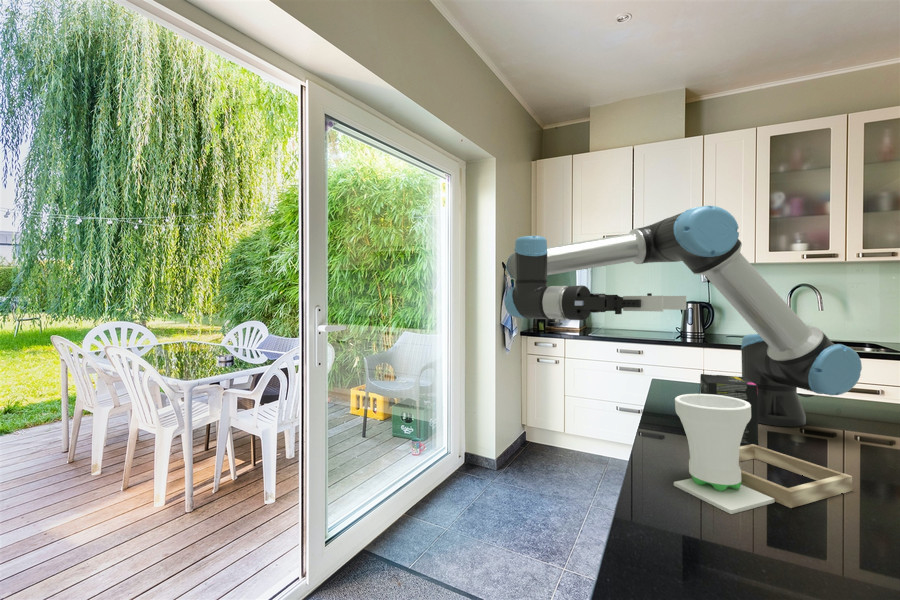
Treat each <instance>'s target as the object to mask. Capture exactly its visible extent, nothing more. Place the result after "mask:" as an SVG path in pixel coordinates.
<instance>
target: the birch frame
mask: <svg viewBox="0 0 900 600" xmlns="http://www.w3.org/2000/svg"><path fill="white" fill-rule="evenodd" d="M748 460H758V461H760V462H764V463H767V464H769V465H771V466H774V467H778V468H780V469H783V470H787V471H789V472H792V473H794V474H797V475H800V476H802V475H803V477H805V478H809V479H812V480H814V481H811V482H807V483H803V484H798V485H796V486H791V487H786V486H783V485H780V484H778V483H775V482H773V481H770V480H768V479H765V478H762V477H760V476H757V475H755V474H753V473H750V472H747V471H745V470H742V469H741V479H742V480H741V485H743V486H746V487H748V488H750V489H753V490H755V491H757V492H760V493H762V494H764V495H767V496H769V497H771V498H774V499H775V502H776V503H778V504H780V505H782V506H785V507H787V508H789V509H792V508H795V507H800V506H803V505H808V504H810V503H814V502H817V501H820V500H824V499H828V498H831V497H836V496H839V495H842V494H841V493H843V494H845V493H846V494H847V493H849V492H853V476H852V475H849V474H847V473H843V472H841V471H837V470H834V469H831V468H828V467H825V466H822V465H818V464H816V463H813V462H810V461H807V460H803V459H801V458H797V457H795V456H791V455H788V454H784V453H781V452H778V451H775V450H773V449H769V448H766V447H763V446H760V445H759V446H757V445H754V444H750V445H745V446H740V450H739V463H740V462H744V461H748Z"/></svg>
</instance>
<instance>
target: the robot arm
mask: <svg viewBox="0 0 900 600" xmlns="http://www.w3.org/2000/svg"><path fill="white" fill-rule="evenodd" d="M738 229H739V224H738V222H737V220H736V218H735V216H734V215H732V213H731V212H729V211H728V210H726V209H724V208H722V207H720V206H716V205H702V206H696V207H692V208H689V209H686V210H684V211H683V212H681V213H678V214H675V215H672V216H669V217H667V218H664V219H663V220H660V221H657V222H655V223H652V224H649V225H647V226H643V227H637V228H631V230H630V231H629V233H624V234H619V235H613V236H607V237H601V238H594V239H588V240H582V241H578V242H577V241H576V242H572V243H571V242H570V243H565V244H559V245H552V246H548V243H547V242H548V241H547V239H546V237H544V236H540V235H525V236H524V235H523V236H518V237H517V238H516V239H515V243H514V253H512V254H511V255H510V256H509V258H508V259H507V261H506V263H505V270H506V273H507V275H508V276H509V277H510V278H511V279H514V280H515V281H514V287H510V289H508V290H507V292H506V296H505V298H504V306H505V310H506V312H507V313H508V314H509V316H511V317H513V318H516V319H517V318H519V319H525V320H532V319H533V320H554V321H555V322H556V323H559V322H560V320H569V321H586V320H587V319H588V318H589V317H590V315H591V313H593V314H594V313H598V314H599V313H606V312H614V315H622V313H623V312H660V313H661V312H664V310H670V311H671V310H672V311H673V310H674V311H675V310H676V311H677V310H678V311H679V310H681V311H683V310H684V311H685V310H686V311H687V295H652V292H651V293H650V292H649V293H647V294H646V295H622V296H620V295H618V294H606V293H591V290H590V289H589V287H587V286H586V285H552V286H551V285H550V286H548V276H549V275H556V274H557V275H558V274H564V273H568V272H575V271H583V270H587V269H593V268H601V267H606V266H613V265H619V264H625V263H631V262H632V263H634V264H636V265H643V264H648V263H679V262H683V263H684V265H685V266H686V267H687V268H688V269H689V270H690V271H691V272H692V273H693V274H694V275H698V276H699V275H700V276H701V275H702V276H705V277H706V278H707V280H708V281H710V283H711V284H712V285H713V286H714V287H715V288H716V289H717V291H719V293H720V294H721V295H722V296H723V297H724V299H726V301H727V302H729V304H730V305H731V306H732V307H733V308H734V309H735V310H736V311H737V312H738V314H739V315H740V316H741V317H742V318H743V319H744V320H745V321H746V322H747V324H748V325H749V326H750V327H751V328H752V329H753V331H755V333H754V334H752V333H751V334H746V335H743V337H742V339H741V347H740V352H741V377H745V378H747V379H748V380H750V381H751V382H753V383H754V384H756V385H757V391H758V424H762V425H767V426H776V427H791V428H792V427H796V428H797V427H803V426H805V425H806V424H807V421H806V420H807V419H806V418H807V417H806V413H805V411H804V407H803V405H802V403H801V400H800V398H799V396H798V392H797V388H798V389H801V390H806V391H809V392H813V393H815V394H818V395H827V396H839V395H843V394H846V393H847V392H849V391H851V390H852V389H853V388H855V386H856V385H857V383H858V382H859V379H860V377H861V372H862V369H863V367H862V361H861V357H860V356H859V354H858V353H857V352H856V350H854V349H853V348H851V347H849V346H847V345H844V344H842V343H836V344H835V343H834V342H832V340H831V339H829V337H828V336H827V335H826V334H825V332H823V331H822V330H821V329H820V328H819V327H816V326H810V325H809V326H808V325H807V324H806V323H804V321H803V320H802V319H801V318H800V317H799V316H798V315H797V314H796V312H795V311H794V310H793V309H792V308H791V307H790V306H789V304H787V302H786V301H785V300H784V299H783V298H782V297H781V296H780V295H779V293H777V292H776V290H775V289H774V288H773V287H772V286H771V285H770V284H769V282H768V281H766V280H765V278H764V277H763V276H762V275H761V274H760V273H759V272H758V271H757V269H756V268H755V267H754V266H753V264H751V263H750V262H749V260H748V259H746V257H745V256H744V255H743V254H742V253H741V249H742V246H743V243H742V241H741V240H740V239H739V236H740V232H739V231H738ZM622 311H623V312H622Z"/></svg>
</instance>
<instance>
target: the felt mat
mask: <svg viewBox="0 0 900 600" xmlns="http://www.w3.org/2000/svg"><path fill="white" fill-rule="evenodd" d="M673 486H674V487H676V488H678V489H680V490H682V491H683V492H685V493H688V494H690V495H692V496H694V497H696V498H697V499H700V500H701V501H704V502H706V503H708V504H710V505H711V506H714V507H715V508H717V509H719V510H722V511H723V512H725V513H728V514H729V515H733V514H737V513H741V512H744V511H748V510H752V509H755V508H759V507H763V506H768V505H770V504H774V503H775V499H774V498H771V497H769V496H767V495H764V494H762V493H760V492H757V491H755V490H753V489H750V488H748V487H746V486H743V485H741V486H740V488H739V489H733V488H731V487H729V486H728V487H726V489H725V490H723V491H719V490H716V489H715V488H714V487H713V486H712V484H709V483H707V484H705V485H698V484H696V483H695V481H694V479H693V477H691V478H687V479H686V478H685V479H682V480H681V479H680V480H677V481H676V480H675V481H673Z"/></svg>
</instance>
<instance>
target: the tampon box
mask: <svg viewBox="0 0 900 600" xmlns="http://www.w3.org/2000/svg"><path fill="white" fill-rule="evenodd" d="M699 382H700V384H699V385H700V386H699V387H700V389H699V390H700V392H699V394H712V395H722V396H728V397H733V398H738V399H741V400H744V401H747V402H749V403H750V405H751V419H750V421H749V422H748V423H747V425H746V427H745V430H744V433H743V436H742V440H741V443H740V446H745V445H750V444H754V445H757V446H760V445H759V423H758V391H757V385H756V384H754V383H753V382H751V381H750V380H748V379H747V378H745V377H742V376H737V375H735V376H733V375H724V374H707V373H706V374H705V373H701V374H700V381H699Z"/></svg>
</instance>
